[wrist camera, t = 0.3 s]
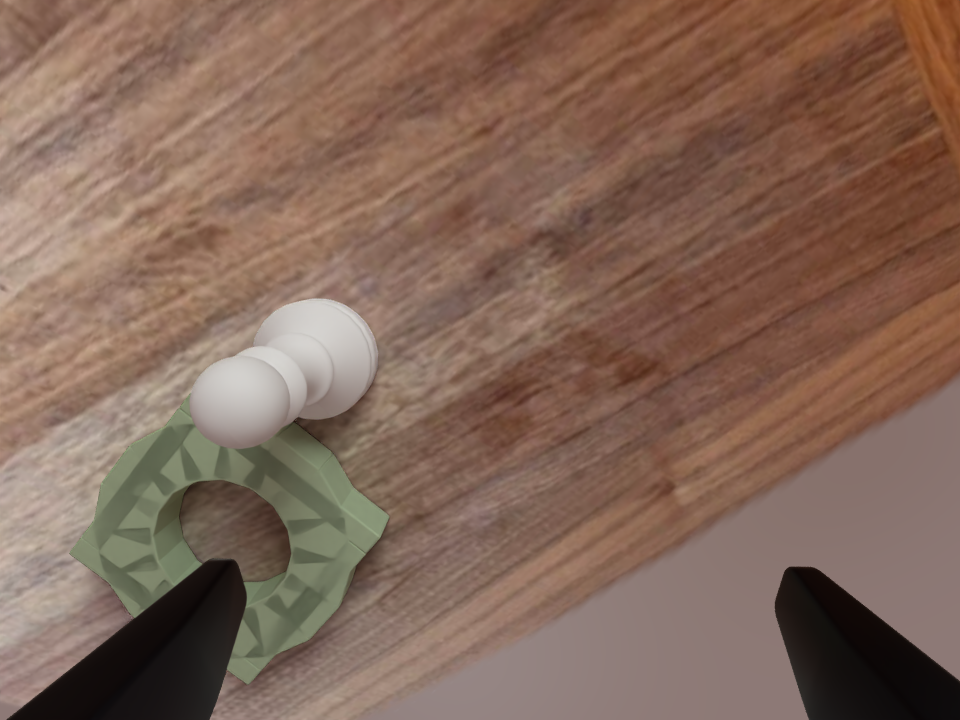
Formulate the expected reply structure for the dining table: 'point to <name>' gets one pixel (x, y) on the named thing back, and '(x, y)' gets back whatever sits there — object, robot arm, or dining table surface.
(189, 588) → the robot arm
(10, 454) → the dining table surface
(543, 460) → the dining table surface
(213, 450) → the pad
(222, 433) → the chess pawn
